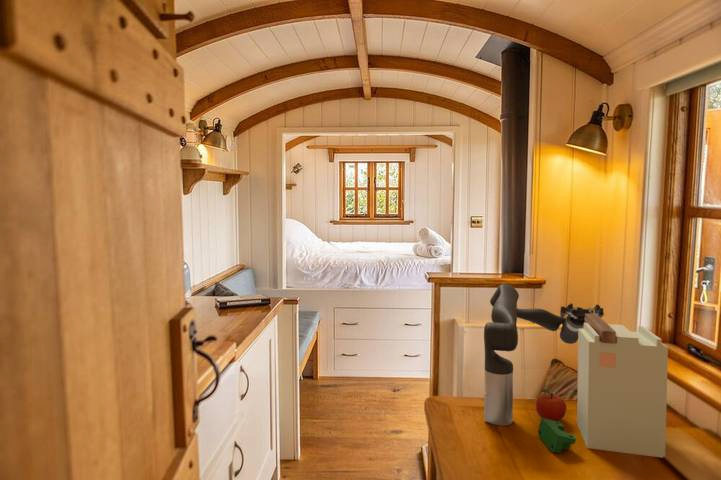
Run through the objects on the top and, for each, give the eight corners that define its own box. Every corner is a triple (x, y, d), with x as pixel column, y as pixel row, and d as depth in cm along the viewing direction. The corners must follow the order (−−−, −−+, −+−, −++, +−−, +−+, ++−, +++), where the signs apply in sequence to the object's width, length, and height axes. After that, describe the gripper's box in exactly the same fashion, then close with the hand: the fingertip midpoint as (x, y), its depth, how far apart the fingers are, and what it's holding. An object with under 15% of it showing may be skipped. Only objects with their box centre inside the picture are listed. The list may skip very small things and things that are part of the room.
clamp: (566, 465, 128) (580, 445, 124) (547, 461, 128) (560, 440, 124) (553, 432, 139) (565, 412, 135) (535, 427, 139) (547, 407, 135)
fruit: (566, 428, 142) (567, 398, 141) (535, 423, 145) (535, 393, 145) (565, 416, 150) (566, 387, 150) (535, 411, 154) (536, 383, 154)
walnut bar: (601, 342, 126) (602, 330, 126) (584, 323, 149) (584, 313, 149) (615, 343, 125) (615, 331, 125) (596, 324, 148) (596, 313, 148)
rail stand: (587, 448, 129) (589, 335, 128) (577, 423, 145) (578, 322, 143) (665, 458, 123) (668, 340, 122) (645, 431, 139) (648, 326, 137)
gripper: (556, 309, 175) (562, 295, 161) (596, 311, 171) (605, 297, 157) (557, 327, 172) (564, 315, 158) (598, 330, 168) (607, 317, 154)
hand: (584, 306), depth 158 cm, fingers open, 8 cm apart
